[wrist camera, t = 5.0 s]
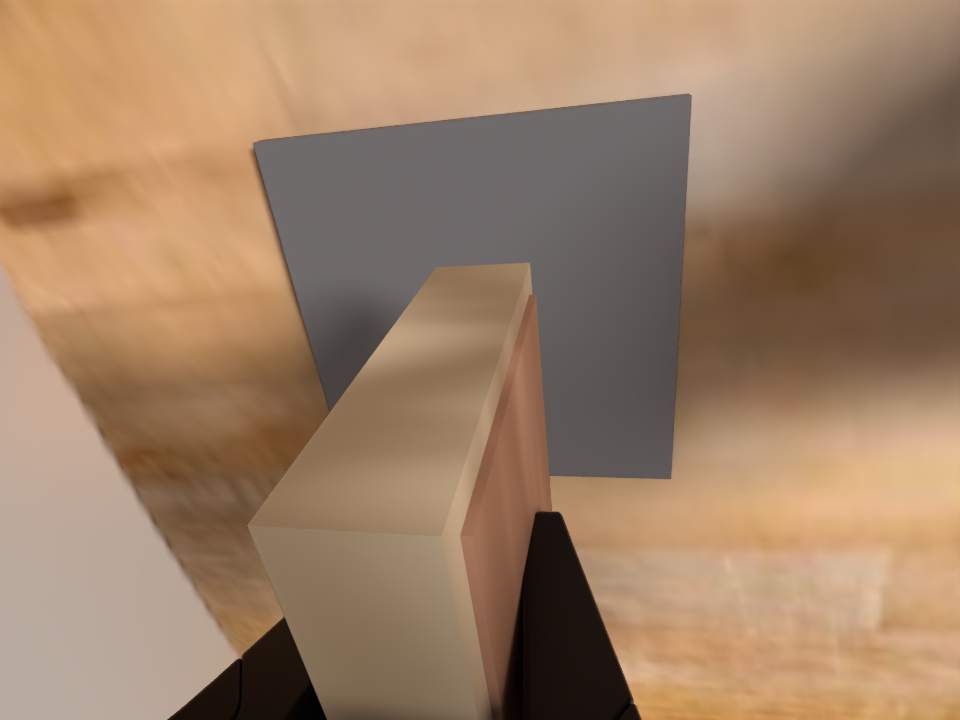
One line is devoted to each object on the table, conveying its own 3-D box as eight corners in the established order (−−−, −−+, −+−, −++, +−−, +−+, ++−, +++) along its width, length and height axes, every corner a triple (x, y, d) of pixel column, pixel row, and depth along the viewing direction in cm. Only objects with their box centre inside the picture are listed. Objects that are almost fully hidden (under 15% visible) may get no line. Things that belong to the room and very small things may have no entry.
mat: (688, 93, 13) (691, 95, 13) (669, 468, 18) (671, 479, 18) (262, 140, 15) (252, 142, 15) (351, 460, 21) (346, 469, 20)
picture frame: (536, 261, 9) (456, 537, 4) (558, 565, 13) (527, 930, 7) (435, 267, 10) (247, 525, 4) (482, 561, 13) (403, 905, 8)
